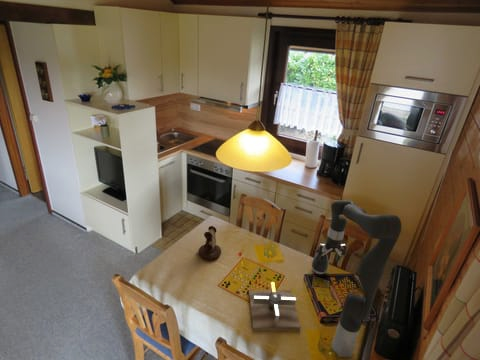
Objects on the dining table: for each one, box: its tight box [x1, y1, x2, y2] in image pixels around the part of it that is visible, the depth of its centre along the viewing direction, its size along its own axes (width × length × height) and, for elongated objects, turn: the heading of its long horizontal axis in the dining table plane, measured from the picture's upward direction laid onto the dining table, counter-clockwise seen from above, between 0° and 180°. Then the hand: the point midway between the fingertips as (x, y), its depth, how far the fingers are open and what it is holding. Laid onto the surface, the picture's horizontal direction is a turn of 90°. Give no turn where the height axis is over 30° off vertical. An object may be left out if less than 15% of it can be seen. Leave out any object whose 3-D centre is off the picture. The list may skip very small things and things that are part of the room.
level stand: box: [248, 289, 302, 331], centre depth 164 cm, size 24×24×2 cm
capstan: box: [253, 281, 297, 321], centre depth 161 cm, size 22×22×8 cm
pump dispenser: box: [311, 249, 330, 275], centre depth 190 cm, size 10×10×15 cm
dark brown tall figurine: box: [198, 225, 222, 261], centre depth 197 cm, size 15×15×20 cm
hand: (329, 260), depth 161 cm, fingers open, 8 cm apart
